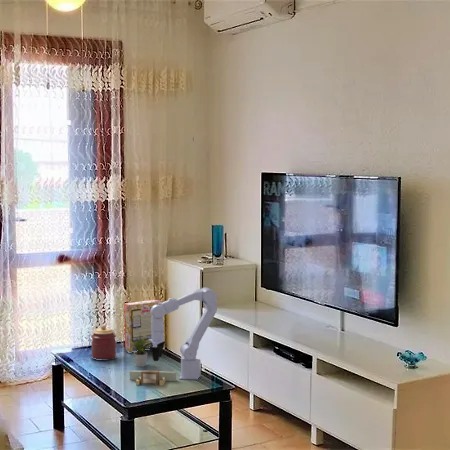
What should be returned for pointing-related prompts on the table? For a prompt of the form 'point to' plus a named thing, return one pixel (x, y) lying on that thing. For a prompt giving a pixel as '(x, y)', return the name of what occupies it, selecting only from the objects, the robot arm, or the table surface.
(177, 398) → the table surface
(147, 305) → the board game box
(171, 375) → the ledge
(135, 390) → the table surface
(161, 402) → the table surface
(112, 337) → the canister
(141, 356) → the house plant
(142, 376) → the frame
